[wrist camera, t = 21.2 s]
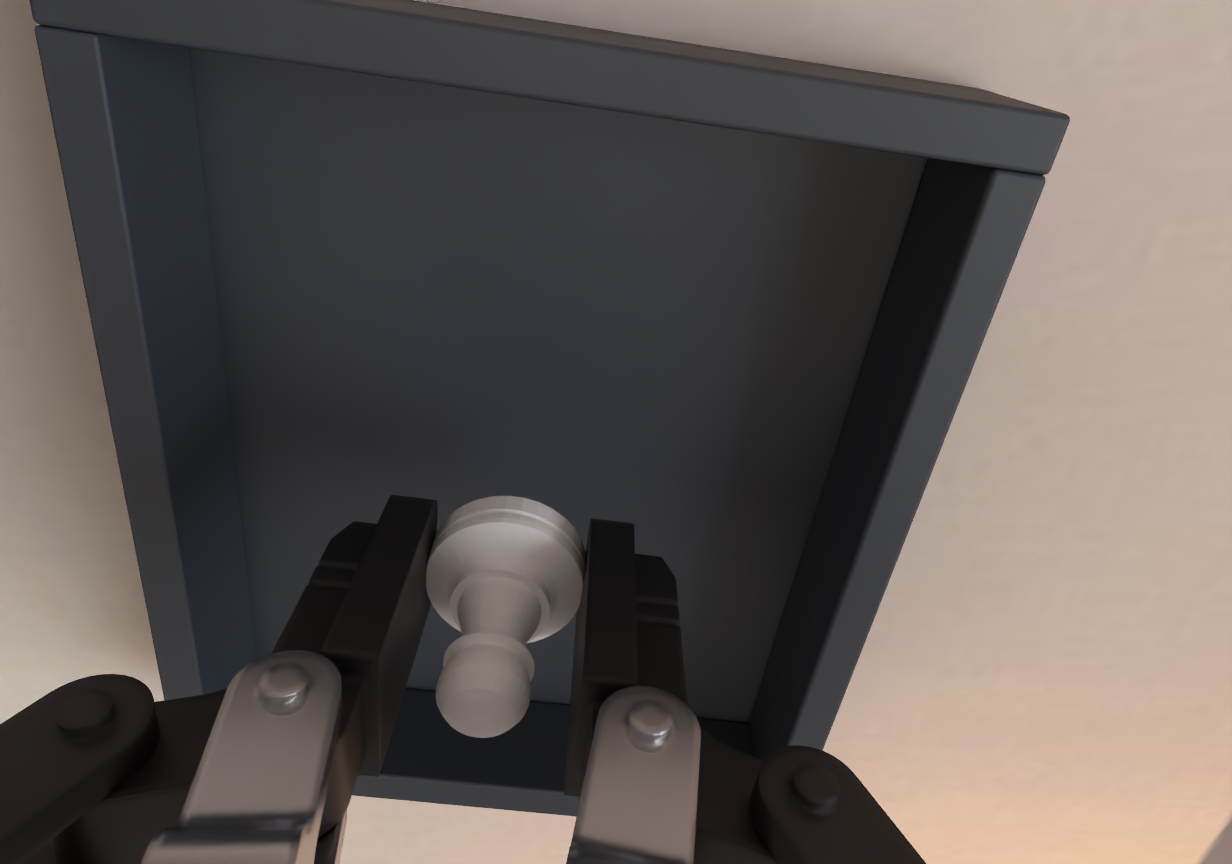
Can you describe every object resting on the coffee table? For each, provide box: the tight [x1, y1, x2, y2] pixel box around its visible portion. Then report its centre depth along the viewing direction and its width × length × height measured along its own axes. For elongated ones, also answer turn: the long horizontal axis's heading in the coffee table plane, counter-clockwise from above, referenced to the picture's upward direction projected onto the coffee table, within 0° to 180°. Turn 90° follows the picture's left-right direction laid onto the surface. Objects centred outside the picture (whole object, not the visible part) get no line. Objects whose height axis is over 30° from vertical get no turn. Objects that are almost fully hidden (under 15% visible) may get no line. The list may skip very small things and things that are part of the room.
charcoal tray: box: [30, 0, 1070, 816], centre depth 15 cm, size 16×14×3 cm
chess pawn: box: [426, 496, 586, 738], centre depth 12 cm, size 3×3×4 cm
